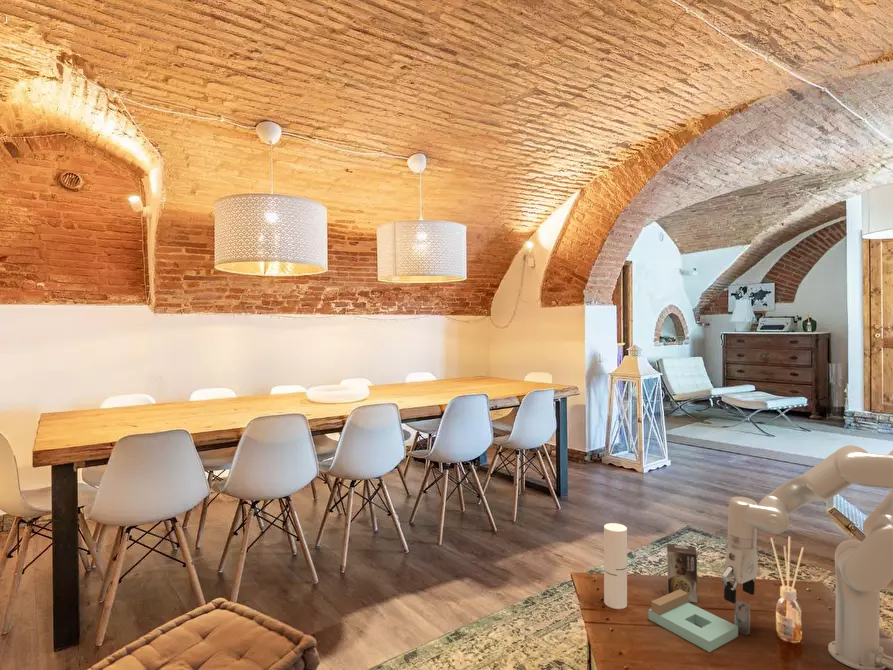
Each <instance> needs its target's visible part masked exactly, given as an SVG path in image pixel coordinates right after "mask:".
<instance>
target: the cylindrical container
mask: <svg viewBox="0 0 893 670" xmlns="http://www.w3.org/2000/svg"><path fill="white" fill-rule="evenodd" d="M603 603H604V604H605V605H606V606H607V607H609V608H610V609H614V610H615V609H616V610H623V609H625V608H627V606H628V527H627V526H625V525H624V524H621V523H614V522H612V523H611V522H610V523H609V522H608V523H606V524H604V526H603Z"/></svg>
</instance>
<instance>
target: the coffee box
mask: <svg viewBox="0 0 893 670" xmlns="http://www.w3.org/2000/svg"><path fill="white" fill-rule="evenodd" d="M666 552H667V553H666V558H667V560H666V564H667V577H666V578H667V594H670V593H672V592H674V591H676V590H679V589H680V590H683V591H685V592H687V593H688V603H698V557H697V555H698V554H697V548H696V547H695V546H688V545H679V544H672V543H667V545H666Z"/></svg>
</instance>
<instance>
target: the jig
mask: <svg viewBox="0 0 893 670" xmlns="http://www.w3.org/2000/svg"><path fill="white" fill-rule="evenodd" d="M650 604H651V607H650V608H649V609H648V620H649V621H651V622H653V623H654V624H656V625H659V626H660V627H662V628H664V629H666V630H668V631H670V632H671V633H673V634H675V635H677V636H679V637H680V638H682V639H684V640H687V641H688V642H689V643H692V644H693V645H695V646H697V647H699V648H701V649H702V650H704V651H706V652H708V653H711V652H713V651H715V650H716V649H717V648H720V647H722V646H723V645H726V644H727V643H729V642H731V641H733V640H734V639H736V638H737V637H739V633H738V626H736V625H735V623H732V622H730V621H728V620H726V619H723V618H721V617H720V616H717V615H716V614H714V613H711V612H709V611H707V610H705V609H702V608H701V607H699V606H697V605H694V604H692V603H691V602H689V601H688V593H687V592H685V591H683V590H680V589H679V590H676V591H674V592H672V593H670V594H668V593H667V594H665V595H663V596H660V597H659V598H655V599H654V600H651V603H650Z"/></svg>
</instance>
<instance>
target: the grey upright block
mask: <svg viewBox="0 0 893 670" xmlns="http://www.w3.org/2000/svg"><path fill="white" fill-rule="evenodd" d="M734 625H736V626H738V634H740V635H744V636H745V635H750V634H751V604H750V603H749V602H746V601H744V600H736V603H734Z"/></svg>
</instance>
